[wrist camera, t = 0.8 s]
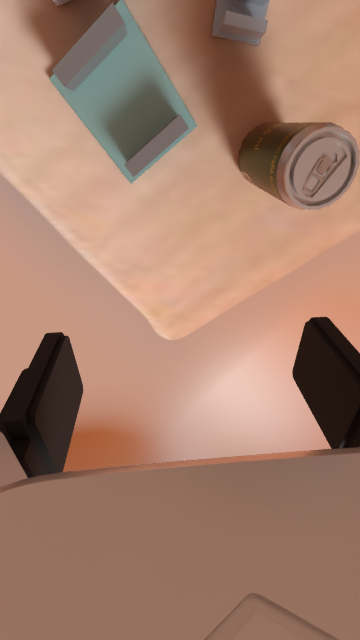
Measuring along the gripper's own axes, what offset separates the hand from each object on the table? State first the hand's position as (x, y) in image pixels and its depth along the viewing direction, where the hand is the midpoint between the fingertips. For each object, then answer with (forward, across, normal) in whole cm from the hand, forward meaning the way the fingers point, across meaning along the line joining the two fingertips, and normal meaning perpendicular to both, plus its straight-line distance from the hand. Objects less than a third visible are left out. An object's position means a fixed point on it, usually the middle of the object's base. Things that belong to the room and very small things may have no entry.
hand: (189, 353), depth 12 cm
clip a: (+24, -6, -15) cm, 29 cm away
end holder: (+24, +3, -9) cm, 26 cm away
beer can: (+24, -10, -5) cm, 26 cm away
